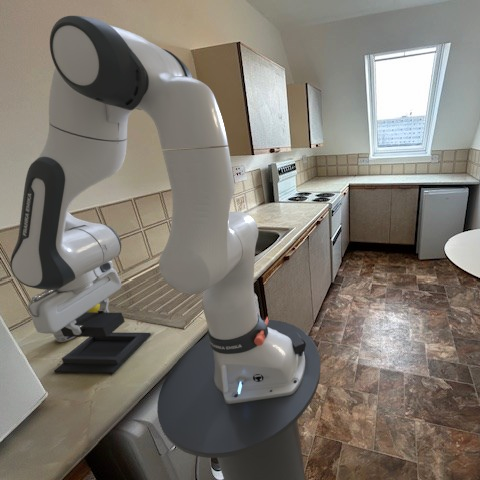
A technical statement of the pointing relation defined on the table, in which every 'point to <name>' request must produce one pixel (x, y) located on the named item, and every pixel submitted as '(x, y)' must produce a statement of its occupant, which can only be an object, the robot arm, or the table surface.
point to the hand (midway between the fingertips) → (93, 323)
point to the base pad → (102, 353)
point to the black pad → (96, 324)
